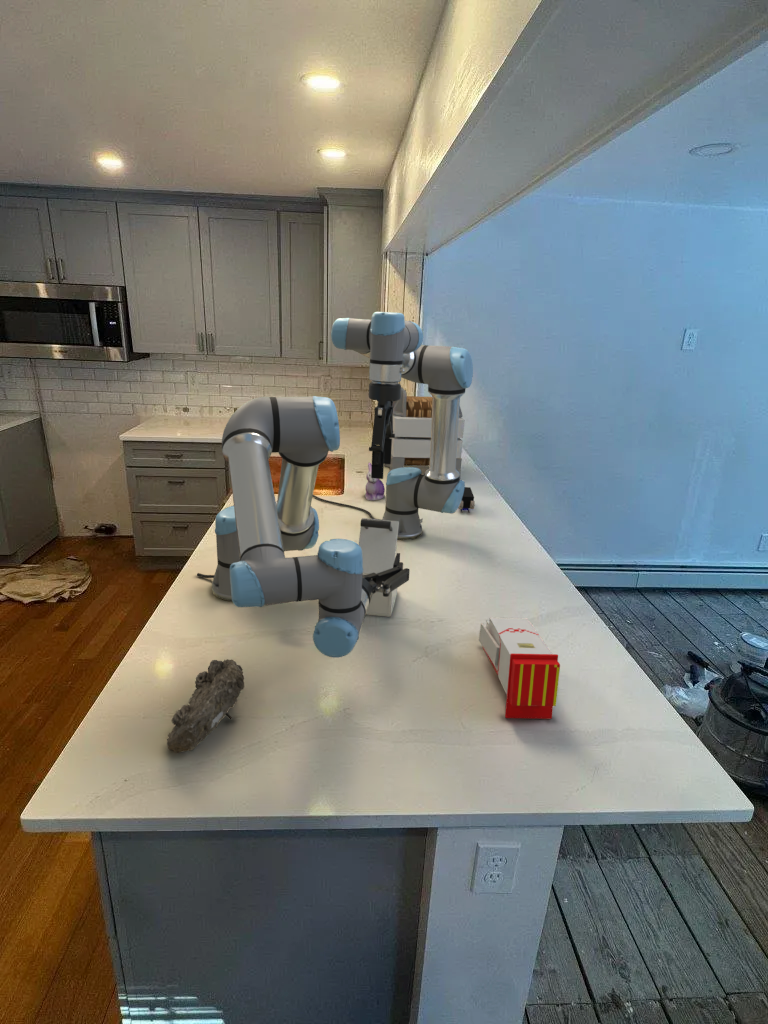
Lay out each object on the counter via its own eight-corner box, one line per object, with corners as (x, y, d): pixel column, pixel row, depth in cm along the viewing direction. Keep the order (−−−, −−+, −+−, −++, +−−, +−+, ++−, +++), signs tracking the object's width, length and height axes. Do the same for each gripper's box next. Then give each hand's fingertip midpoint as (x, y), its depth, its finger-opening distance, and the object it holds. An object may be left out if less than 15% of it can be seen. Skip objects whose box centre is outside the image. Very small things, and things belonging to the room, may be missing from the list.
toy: (525, 603, 136) (569, 660, 107) (520, 654, 139) (562, 725, 109) (475, 601, 135) (505, 659, 106) (471, 653, 138) (499, 724, 109)
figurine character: (474, 518, 222) (469, 501, 235) (476, 500, 218) (471, 485, 232) (457, 517, 222) (452, 501, 235) (459, 500, 218) (454, 484, 232)
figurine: (369, 502, 230) (370, 466, 225) (359, 494, 239) (360, 460, 234) (390, 499, 234) (391, 464, 229) (378, 492, 243) (380, 458, 238)
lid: (362, 518, 146) (357, 511, 137) (399, 522, 145) (396, 515, 136) (355, 572, 144) (350, 569, 135) (393, 576, 143) (389, 573, 133)
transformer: (382, 463, 289) (386, 382, 275) (445, 464, 293) (451, 384, 279) (390, 482, 257) (394, 392, 243) (460, 483, 261) (468, 394, 247)
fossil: (192, 660, 117) (244, 628, 112) (224, 691, 120) (276, 661, 115) (142, 746, 98) (202, 712, 93) (182, 779, 101) (242, 748, 96)
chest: (363, 589, 159) (364, 554, 156) (397, 593, 158) (399, 557, 155) (354, 613, 147) (355, 575, 143) (390, 617, 146) (392, 578, 142)
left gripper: (288, 609, 113) (315, 565, 133) (413, 623, 110) (422, 575, 130) (287, 575, 110) (315, 535, 130) (415, 589, 107) (424, 545, 127)
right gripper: (394, 390, 120) (389, 486, 127) (406, 377, 143) (402, 459, 150) (359, 388, 120) (356, 483, 128) (377, 375, 144) (374, 457, 151)
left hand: (368, 555), depth 130 cm, fingers open, 13 cm apart
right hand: (381, 470), depth 139 cm, fingers open, 13 cm apart
